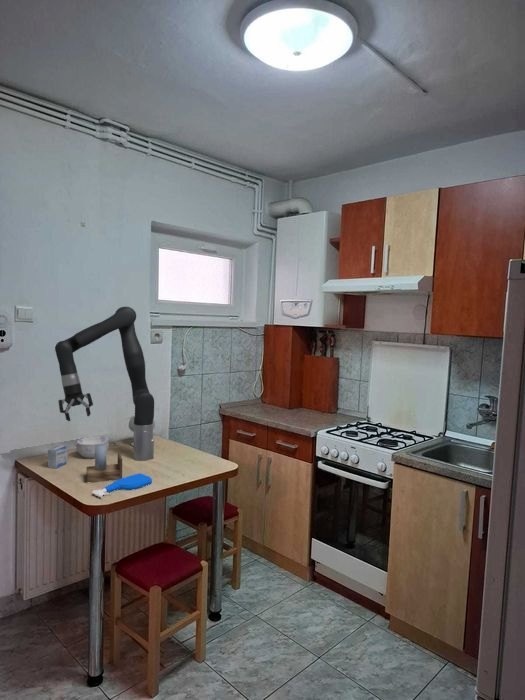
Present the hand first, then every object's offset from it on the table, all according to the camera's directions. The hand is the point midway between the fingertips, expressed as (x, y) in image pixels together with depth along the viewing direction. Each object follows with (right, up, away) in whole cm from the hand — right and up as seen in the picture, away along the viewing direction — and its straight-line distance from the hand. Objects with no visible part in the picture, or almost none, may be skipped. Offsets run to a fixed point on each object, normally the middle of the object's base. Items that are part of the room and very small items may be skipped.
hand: (79, 418), depth 217 cm
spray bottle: (+27, -26, -24) cm, 44 cm away
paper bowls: (-1, -22, +20) cm, 30 cm away
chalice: (+18, -20, +43) cm, 51 cm away
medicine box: (-11, -22, +3) cm, 25 cm away
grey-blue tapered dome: (+14, -20, -13) cm, 27 cm away
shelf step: (+16, -24, -12) cm, 31 cm away
